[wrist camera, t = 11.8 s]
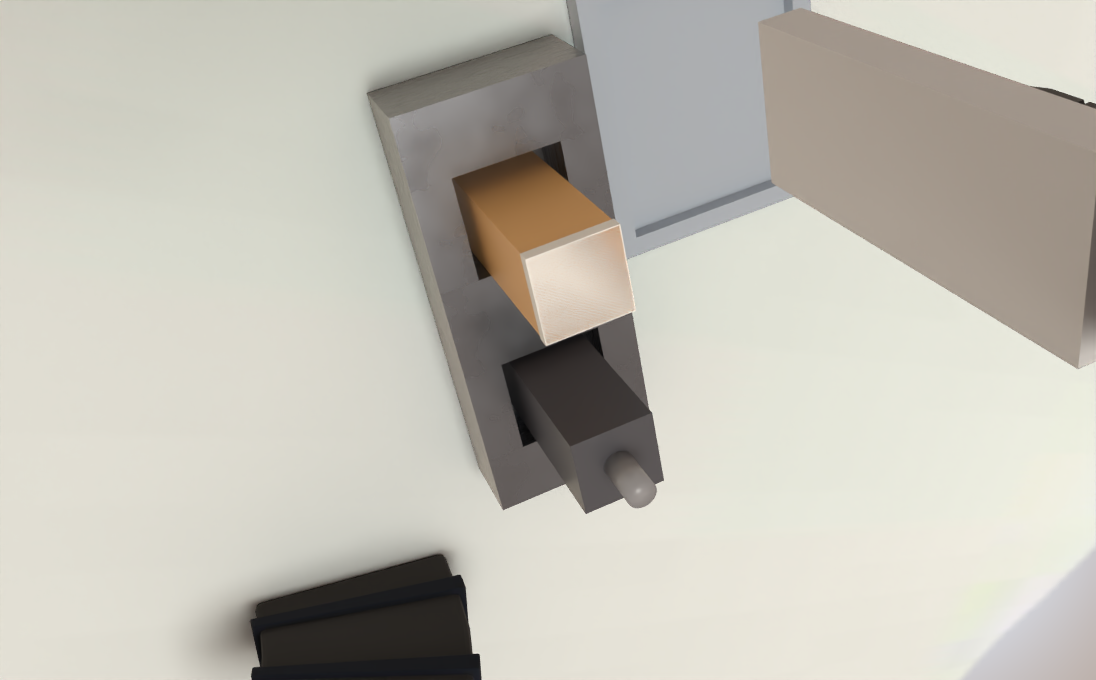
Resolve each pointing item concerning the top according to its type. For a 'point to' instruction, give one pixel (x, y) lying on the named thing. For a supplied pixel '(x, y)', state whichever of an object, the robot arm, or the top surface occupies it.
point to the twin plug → (587, 423)
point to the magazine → (370, 629)
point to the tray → (679, 111)
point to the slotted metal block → (441, 240)
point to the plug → (546, 246)
